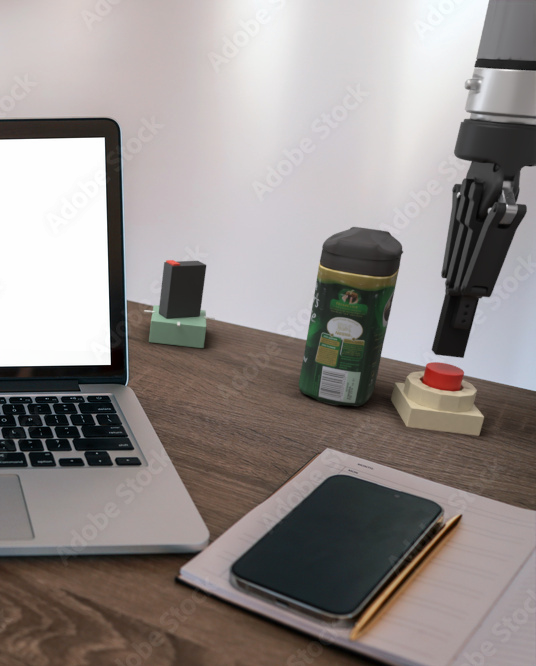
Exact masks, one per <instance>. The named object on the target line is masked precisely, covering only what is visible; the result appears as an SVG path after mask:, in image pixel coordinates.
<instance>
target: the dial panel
mask: <svg viewBox="0 0 536 666" xmlns="http://www.w3.org/2000/svg"><path fill="white" fill-rule="evenodd" d="M143 312H144V313H150V314H151V317H150V318H151V319H150V327H149V335H148V336H149V337H148V343H152V344H162V345H169V346H179V347H187V348H196V349H204V348H205V341H206V333H207V320H215V319H216V317H215V316H213V317H212V316H207V311H206V310H205V309H201V311H200V316H197V317H182V318H165V317H163V316H162V315H160V314H159V305H157V304H153V306H152V310H150V309H149V310H147V309H144V310H143Z"/></svg>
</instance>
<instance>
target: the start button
mask: <svg viewBox="0 0 536 666" xmlns="http://www.w3.org/2000/svg"><path fill="white" fill-rule="evenodd" d="M424 371H425V372H424V376H423V380H422V383H423V384H425V385H427V386H429V387H432V388H435V389H439V390H444V391H453V392H454V391H460V387H461V384H462V380H464V376H465V371H464V370H463V369H462V368H460V367H459V366H456V365H453V364H450V363H446V362H438V361H437V362H436V361H434V362H433V361H432V362H427V363H426V365H425V368H424Z"/></svg>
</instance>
